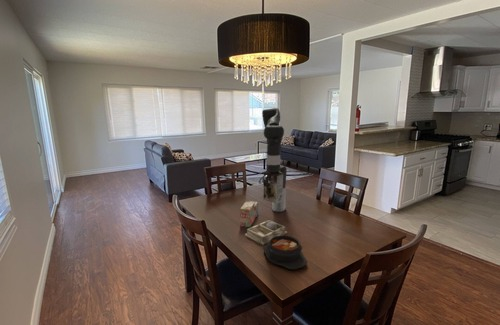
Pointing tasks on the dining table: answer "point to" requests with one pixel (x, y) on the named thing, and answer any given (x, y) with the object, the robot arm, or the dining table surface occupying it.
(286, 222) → the dining table surface
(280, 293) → the dining table surface
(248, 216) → the stack of blocks
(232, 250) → the dining table surface
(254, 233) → the caddy
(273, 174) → the coffee box
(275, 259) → the casserole
